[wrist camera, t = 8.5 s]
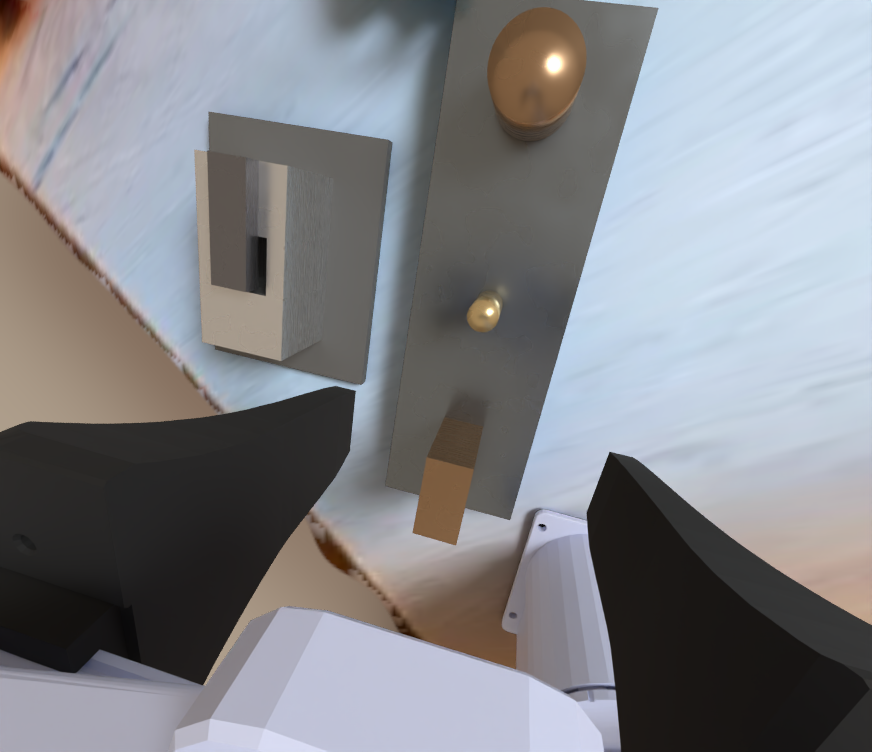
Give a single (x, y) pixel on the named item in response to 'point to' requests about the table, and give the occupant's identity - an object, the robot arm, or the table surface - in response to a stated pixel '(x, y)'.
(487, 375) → the grey base plate
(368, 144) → the flat grey panel
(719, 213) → the table surface
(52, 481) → the robot arm
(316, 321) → the white slotted box
